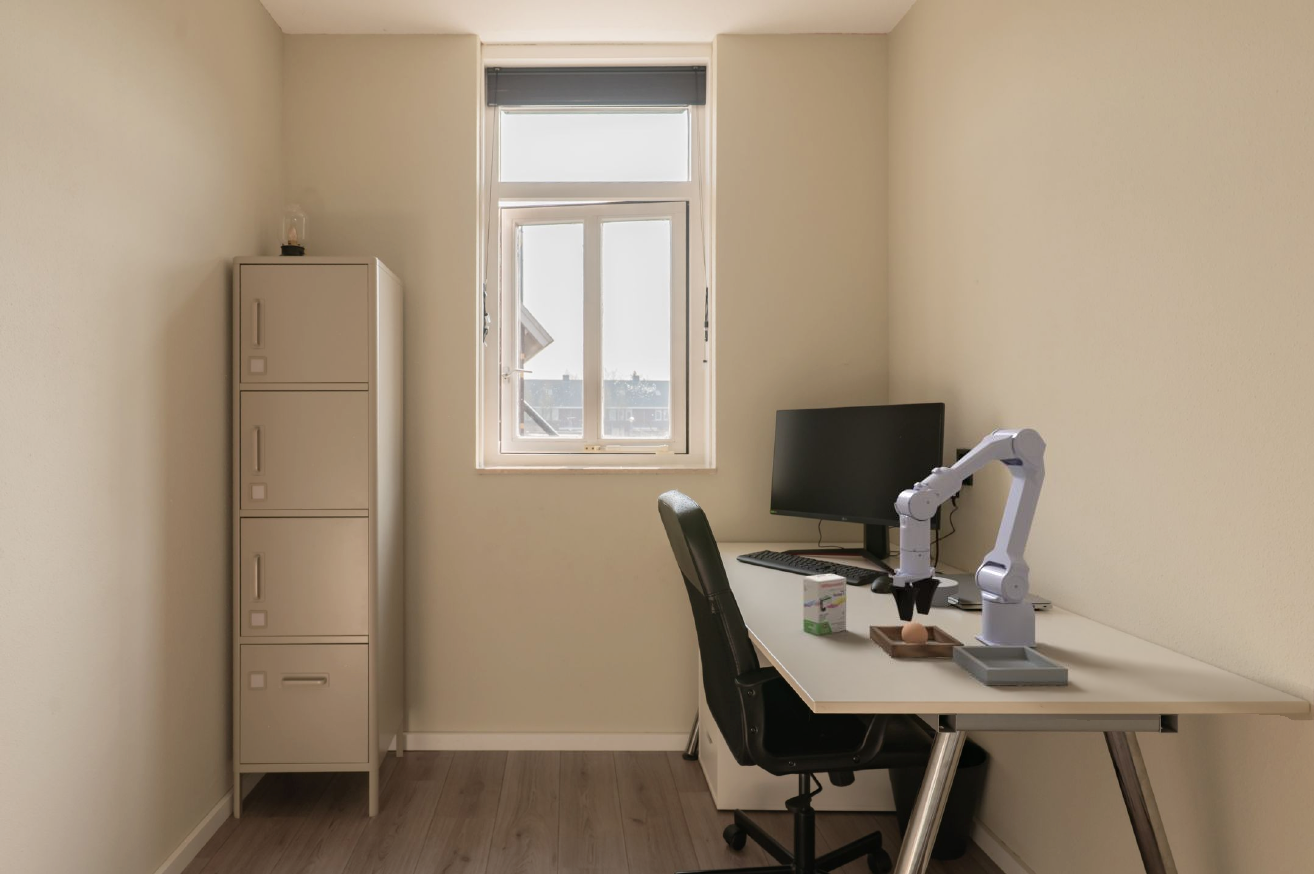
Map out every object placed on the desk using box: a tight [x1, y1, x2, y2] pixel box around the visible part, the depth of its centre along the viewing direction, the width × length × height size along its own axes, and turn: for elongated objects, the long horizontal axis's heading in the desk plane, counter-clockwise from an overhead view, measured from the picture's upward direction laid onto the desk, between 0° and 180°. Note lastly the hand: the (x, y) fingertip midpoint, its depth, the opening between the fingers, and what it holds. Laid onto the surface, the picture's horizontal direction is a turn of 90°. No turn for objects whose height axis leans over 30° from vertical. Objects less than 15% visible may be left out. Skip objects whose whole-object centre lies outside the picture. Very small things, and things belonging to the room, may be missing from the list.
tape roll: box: [910, 576, 960, 607], centre depth 194 cm, size 15×15×5 cm
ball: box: [902, 621, 929, 643], centre depth 151 cm, size 5×5×5 cm
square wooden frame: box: [869, 625, 965, 658], centre depth 151 cm, size 14×14×2 cm
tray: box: [952, 645, 1069, 687], centre depth 135 cm, size 14×14×3 cm
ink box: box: [802, 573, 847, 636], centre depth 163 cm, size 8×5×12 cm, turn 121°
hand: (914, 617), depth 151 cm, fingers open, 7 cm apart
